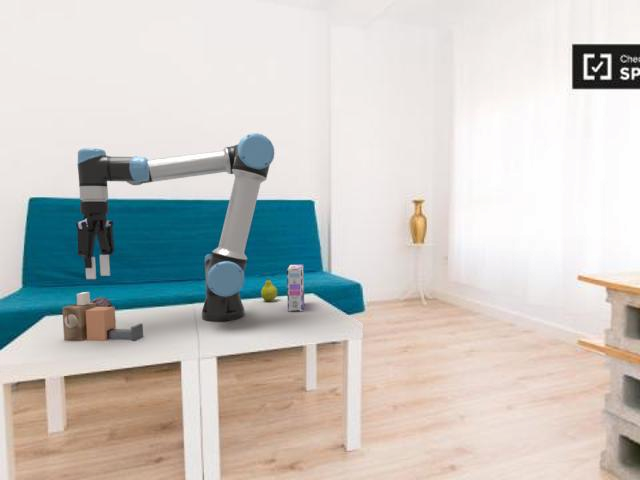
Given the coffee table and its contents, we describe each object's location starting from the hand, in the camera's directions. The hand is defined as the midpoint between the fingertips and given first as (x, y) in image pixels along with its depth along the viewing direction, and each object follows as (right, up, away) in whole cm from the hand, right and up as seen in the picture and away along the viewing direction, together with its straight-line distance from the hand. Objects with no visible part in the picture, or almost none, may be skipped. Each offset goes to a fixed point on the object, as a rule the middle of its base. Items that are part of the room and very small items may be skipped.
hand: (98, 276), depth 126 cm
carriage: (0, -19, +1) cm, 19 cm away
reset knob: (-5, -9, +1) cm, 10 cm away
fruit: (+46, -15, +50) cm, 70 cm away
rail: (+4, -19, +1) cm, 19 cm away
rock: (-10, -18, +18) cm, 27 cm away
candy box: (+58, -16, +37) cm, 71 cm away
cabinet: (-7, -19, +2) cm, 20 cm away
